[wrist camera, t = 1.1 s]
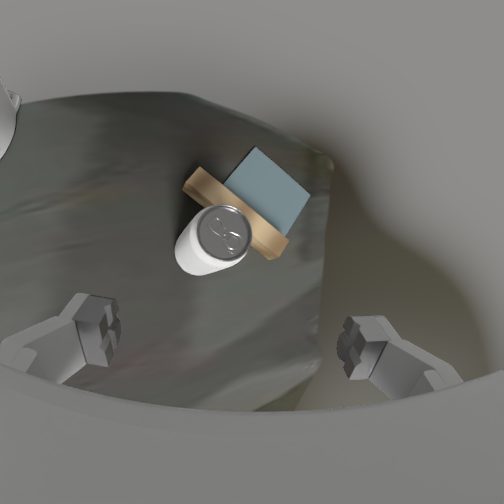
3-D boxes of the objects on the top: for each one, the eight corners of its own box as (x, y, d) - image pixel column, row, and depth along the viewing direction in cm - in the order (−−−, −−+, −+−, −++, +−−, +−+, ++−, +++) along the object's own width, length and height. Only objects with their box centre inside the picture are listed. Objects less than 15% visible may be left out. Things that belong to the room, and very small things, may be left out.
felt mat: (218, 190, 41) (219, 189, 41) (254, 147, 45) (255, 146, 44) (280, 241, 44) (282, 241, 43) (309, 195, 47) (310, 195, 47)
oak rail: (181, 189, 39) (185, 181, 36) (194, 175, 40) (199, 166, 37) (269, 260, 43) (278, 257, 40) (279, 244, 44) (289, 240, 41)
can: (198, 286, 38) (227, 280, 27) (163, 251, 37) (177, 230, 26) (230, 252, 40) (268, 234, 29) (197, 218, 39) (224, 187, 28)
